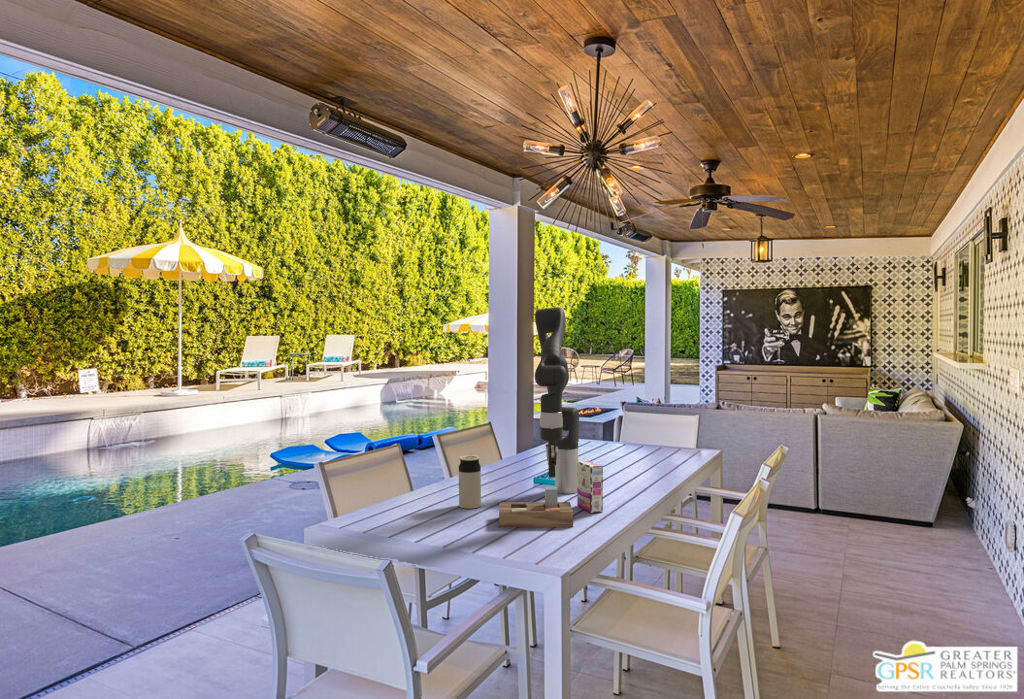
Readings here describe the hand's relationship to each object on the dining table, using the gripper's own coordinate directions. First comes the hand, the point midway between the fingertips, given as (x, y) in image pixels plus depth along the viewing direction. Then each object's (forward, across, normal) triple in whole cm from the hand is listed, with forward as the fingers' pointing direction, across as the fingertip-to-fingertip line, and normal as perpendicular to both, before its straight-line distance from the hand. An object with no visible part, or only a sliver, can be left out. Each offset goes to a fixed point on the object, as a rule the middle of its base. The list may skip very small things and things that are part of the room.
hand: (551, 476), depth 220 cm
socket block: (+15, +1, -6) cm, 16 cm away
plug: (+14, 0, 0) cm, 14 cm away
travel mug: (+15, -19, -29) cm, 38 cm away
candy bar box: (+15, -14, +14) cm, 25 cm away
